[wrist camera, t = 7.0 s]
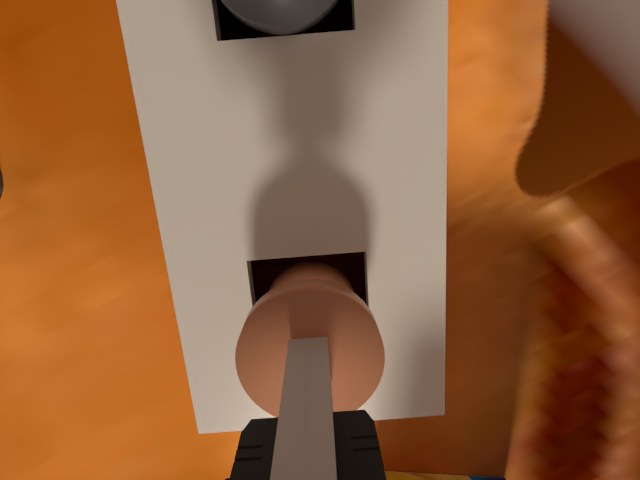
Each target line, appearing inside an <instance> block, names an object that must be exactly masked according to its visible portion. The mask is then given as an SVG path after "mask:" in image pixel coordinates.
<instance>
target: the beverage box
mask: <svg viewBox="0 0 640 480" xmlns="http://www.w3.org/2000/svg"><path fill="white" fill-rule="evenodd" d="M385 475H386V480H506V479H505V478H502V477H484V476H467V475H449V474H432V473H415V472H397V471H385Z"/></svg>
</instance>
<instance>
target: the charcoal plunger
mask: <svg viewBox="0 0 640 480" xmlns="http://www.w3.org/2000/svg"><path fill="white" fill-rule="evenodd" d="M221 1H222V3H223V4H224V5H225V7H226V8H227V9H228V10H229V11H230V12H231V13H232V14H233V15H234V16H235V17H236V18H237V19H238V20H240V21H241V22H242V23H244V24H246V25H247V26H249V27H251V28H253V29H255V30H256V31H257V32H258V33H259V34H260V35H261V36H263V37H274V36H287V35H299V34H311V33H316V32H317V31H318V30H319V29H320V28H321V27H322V25H323V24H324V22H325V21H326V19H327V17H328V14H329V13H330V11H331V10H332V9H333V8H334V7H335V5H336V4H337V2H338V1H339V0H221Z"/></svg>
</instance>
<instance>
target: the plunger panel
mask: <svg viewBox="0 0 640 480" xmlns="http://www.w3.org/2000/svg"><path fill="white" fill-rule="evenodd" d="M116 3H117V8H118V14H119V19H120V24H121V29H122V35H123V40H124V45H125V50H126V56H127V61H128V66H129V71H130V77H131V82H132V87H133V92H134V98H135V103H136V108H137V113H138V119H139V124H140V129H141V134H142V140H143V145H144V150H145V155H146V161H147V166H148V171H149V176H150V182H151V187H152V192H153V197H154V203H155V208H156V213H157V218H158V224H159V229H160V234H161V239H162V245H163V250H164V255H165V260H166V266H167V271H168V276H169V281H170V287H171V292H172V297H173V302H174V307H175V313H176V318H177V323H178V328H179V334H180V339H181V344H182V349H183V355H184V360H185V365H186V370H187V376H188V381H189V386H190V391H191V397H192V402H193V407H194V412H195V418H196V423H197V428H198V433H199V434H203V433H216V432H229V431H242V430H244V428H245V427H246V426H247V424H248V423H249V422H250V420H251V419H261V418H275V416H272V415H271V414H269V413H267V412H266V411H264V410H263V409H261V408H260V407H259V406H258V405H256V404H255V403H254V402H253V401H252V399H251V398H250V397H249V396H248V395H247V393H246V392H245V390H244V388H243V387H242V385H241V383H240V380H239V378H238V375H237V370H236V364H235V352H236V346H237V341H238V339H239V336H240V333H241V331H242V328H243V326H244V323H245V320H246V318H247V316H248V314H249V312H250V310H251V309H252V307H253V306H254V305H255V303H256V299H255V292H254V284H253V276H252V269H251V261H252V260H264V259H277V258H290V257H303V256H315V255H328V254H341V253H354V252H364V264H365V284H366V304H367V306H368V307H369V309H370V311H371V312H372V314H373V316H374V318H375V321H376V323H377V326H378V329H379V332H380V335H381V338H382V341H383V345H384V352H385V365H384V370H383V374H382V377H381V380H380V383H379V385H378V387H377V389H376V390H375V391H374V393H373V394H372V396H371V397H370V398H369V399H368V400H367V401H366V403H364V404H363V405H362V406H361V407H360V408H359V409H357V410H365V411H366V412H367V413H368V414H369V416H370V417H371V418H372V419H373V420H387V419H400V418H414V417H427V416H440V415H445V333H446V207H447V81H448V0H351V4H352V24H353V30H348V31H336V32H323V33H311V34H299V35H287V36H274V37H262V38H250V39H238V40H225V41H222V39H221V31H220V23H219V16H218V8H217V0H116Z"/></svg>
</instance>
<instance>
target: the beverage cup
mask: <svg viewBox="0 0 640 480" xmlns="http://www.w3.org/2000/svg"><path fill="white" fill-rule="evenodd" d="M2 190H3V181H2V175H1V172H0V198H1V194H2Z"/></svg>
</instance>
